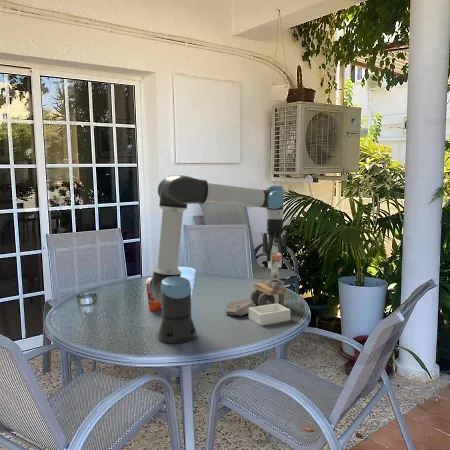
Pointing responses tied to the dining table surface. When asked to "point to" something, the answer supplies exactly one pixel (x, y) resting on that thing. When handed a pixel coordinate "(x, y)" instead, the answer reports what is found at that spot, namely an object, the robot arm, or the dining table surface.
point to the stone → (239, 307)
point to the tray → (269, 314)
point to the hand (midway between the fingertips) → (274, 267)
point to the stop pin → (275, 265)
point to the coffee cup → (152, 299)
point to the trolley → (268, 292)
